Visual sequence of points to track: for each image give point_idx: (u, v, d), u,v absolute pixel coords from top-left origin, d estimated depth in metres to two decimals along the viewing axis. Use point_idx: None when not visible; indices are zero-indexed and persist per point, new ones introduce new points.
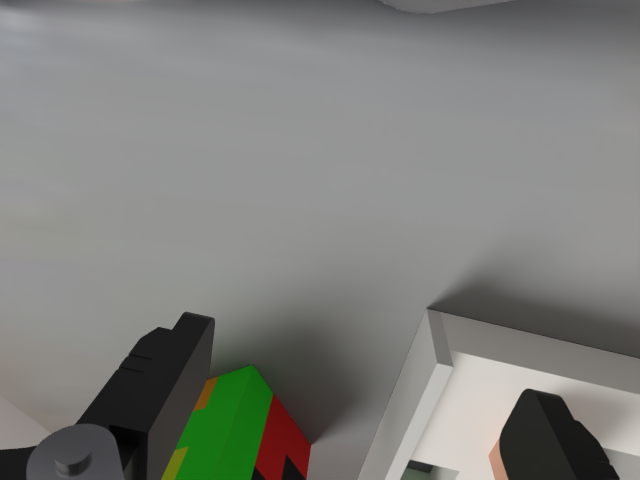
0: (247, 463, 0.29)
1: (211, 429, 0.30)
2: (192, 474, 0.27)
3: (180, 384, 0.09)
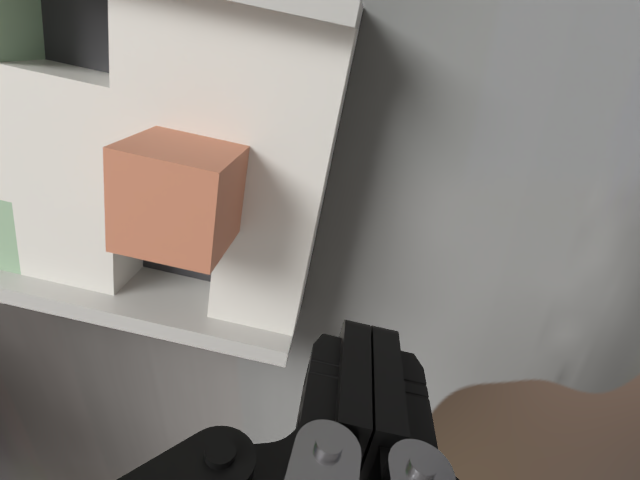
0: None
1: None
2: None
3: None
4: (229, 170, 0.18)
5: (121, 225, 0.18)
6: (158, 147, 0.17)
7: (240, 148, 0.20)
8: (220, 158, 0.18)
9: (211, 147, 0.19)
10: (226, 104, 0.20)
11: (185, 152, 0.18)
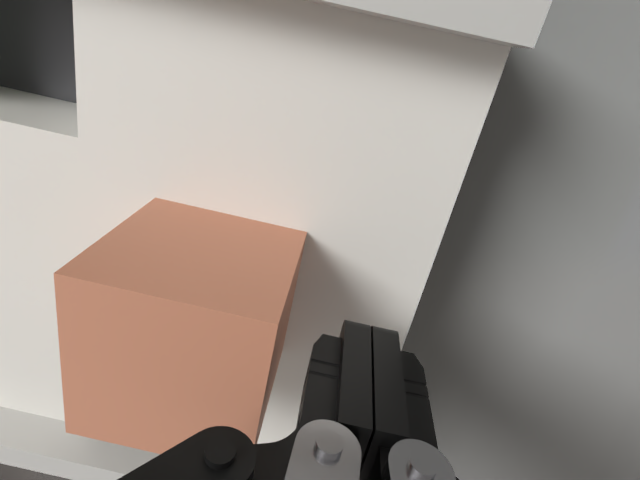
0: None
1: None
2: None
3: None
4: (287, 298, 0.10)
5: (92, 396, 0.10)
6: (160, 258, 0.10)
7: (295, 240, 0.12)
8: (269, 273, 0.10)
9: (249, 245, 0.11)
10: (272, 168, 0.12)
11: (208, 266, 0.10)
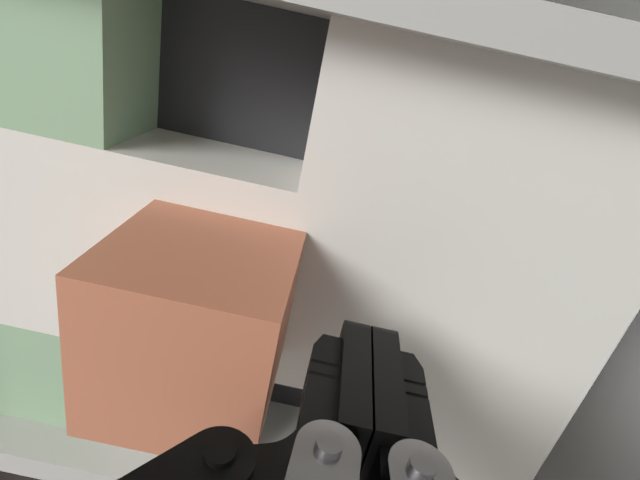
0: None
1: None
2: None
3: None
4: (288, 298, 0.10)
5: (94, 399, 0.10)
6: (160, 259, 0.10)
7: (295, 241, 0.12)
8: (271, 273, 0.10)
9: (249, 245, 0.11)
10: (492, 222, 0.12)
11: (209, 266, 0.10)
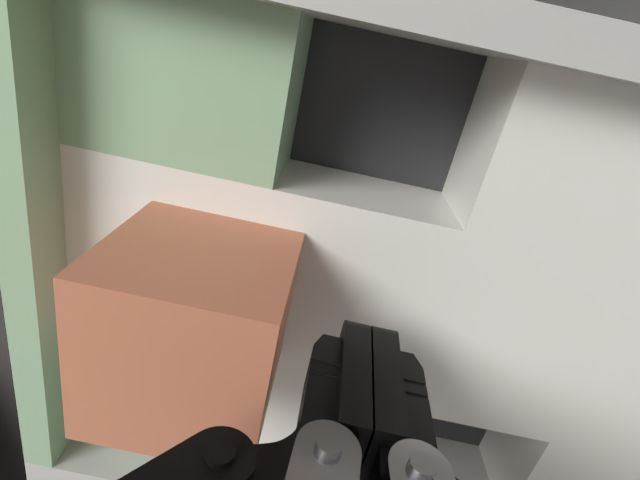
0: None
1: None
2: None
3: None
4: (287, 299, 0.10)
5: (92, 401, 0.10)
6: (159, 261, 0.10)
7: (293, 241, 0.12)
8: (269, 274, 0.10)
9: (248, 247, 0.11)
10: None
11: (208, 268, 0.10)
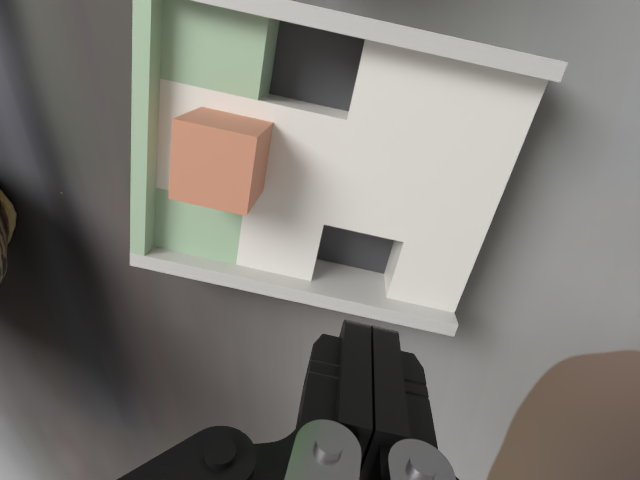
0: None
1: None
2: None
3: None
4: (262, 137, 0.24)
5: (182, 178, 0.24)
6: (209, 120, 0.24)
7: (267, 123, 0.26)
8: (255, 128, 0.24)
9: (246, 122, 0.25)
10: (437, 133, 0.26)
11: (229, 124, 0.24)
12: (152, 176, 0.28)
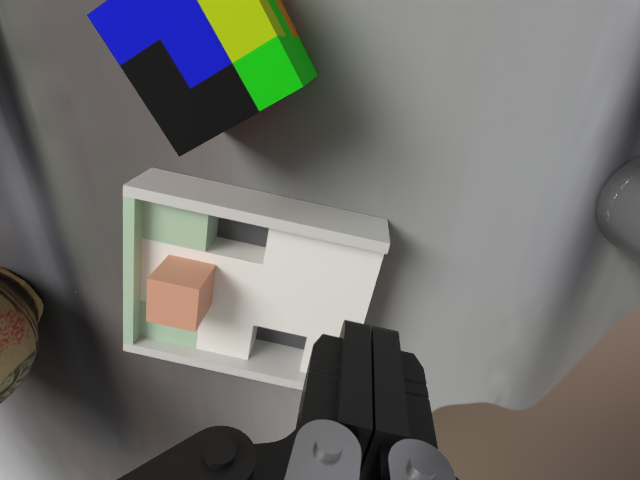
0: None
1: (298, 57, 0.31)
2: (290, 56, 0.28)
3: None
4: (204, 284, 0.38)
5: (154, 310, 0.38)
6: (171, 274, 0.38)
7: (210, 267, 0.40)
8: (200, 277, 0.38)
9: (196, 269, 0.39)
10: (321, 273, 0.40)
11: (183, 276, 0.38)
12: (137, 295, 0.42)
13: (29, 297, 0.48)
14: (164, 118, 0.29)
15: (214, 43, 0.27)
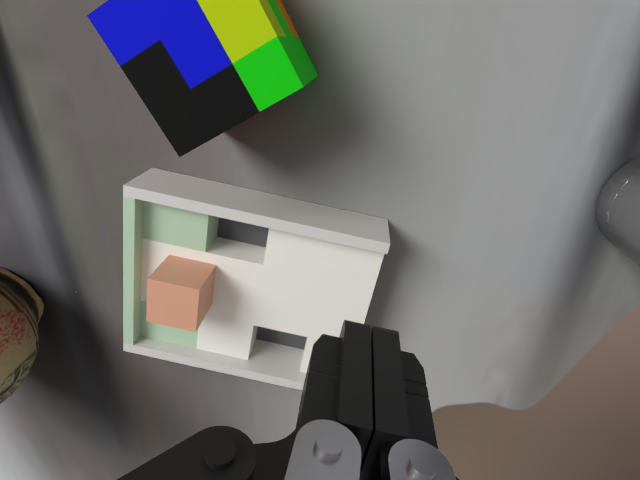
0: None
1: (299, 58, 0.31)
2: (290, 57, 0.28)
3: None
4: (204, 284, 0.38)
5: (154, 310, 0.38)
6: (171, 274, 0.38)
7: (211, 267, 0.40)
8: (200, 277, 0.38)
9: (196, 269, 0.39)
10: (321, 274, 0.40)
11: (184, 276, 0.38)
12: (138, 295, 0.42)
13: (29, 297, 0.48)
14: (164, 119, 0.29)
15: (215, 43, 0.27)
